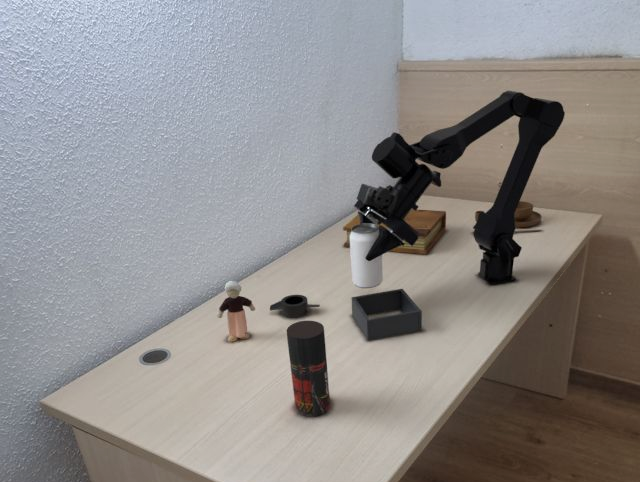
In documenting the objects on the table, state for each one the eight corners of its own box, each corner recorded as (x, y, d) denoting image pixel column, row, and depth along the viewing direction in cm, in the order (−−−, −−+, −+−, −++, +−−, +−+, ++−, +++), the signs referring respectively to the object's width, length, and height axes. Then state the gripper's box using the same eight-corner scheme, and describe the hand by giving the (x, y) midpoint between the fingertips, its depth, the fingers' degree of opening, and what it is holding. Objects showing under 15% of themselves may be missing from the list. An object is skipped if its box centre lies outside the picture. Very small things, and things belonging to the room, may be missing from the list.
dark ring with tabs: (289, 300, 141) (287, 289, 139) (323, 310, 135) (322, 298, 134) (267, 314, 135) (265, 302, 134) (302, 324, 130) (300, 312, 129)
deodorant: (294, 398, 107) (285, 322, 99) (328, 394, 107) (322, 318, 99) (296, 418, 102) (287, 340, 94) (331, 414, 102) (325, 336, 94)
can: (377, 290, 126) (374, 234, 120) (347, 287, 129) (344, 232, 122) (386, 277, 131) (385, 223, 125) (358, 274, 134) (355, 221, 127)
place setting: (549, 231, 165) (552, 209, 162) (474, 236, 166) (476, 214, 163) (531, 210, 180) (533, 190, 177) (462, 215, 181) (463, 195, 178)
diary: (445, 230, 172) (446, 210, 169) (426, 255, 158) (426, 233, 155) (369, 224, 181) (368, 204, 178) (344, 246, 167) (343, 226, 164)
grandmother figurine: (226, 346, 125) (216, 289, 118) (220, 338, 128) (210, 282, 121) (261, 335, 127) (253, 279, 121) (254, 328, 130) (246, 273, 124)
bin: (402, 307, 134) (402, 288, 131) (421, 330, 124) (421, 311, 122) (352, 316, 132) (351, 297, 129) (367, 340, 122) (366, 320, 120)
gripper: (360, 158, 126) (315, 220, 129) (403, 178, 111) (351, 248, 114) (395, 189, 133) (351, 248, 135) (440, 212, 118) (390, 278, 120)
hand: (360, 254), depth 126 cm, fingers closed on can, 6 cm apart
